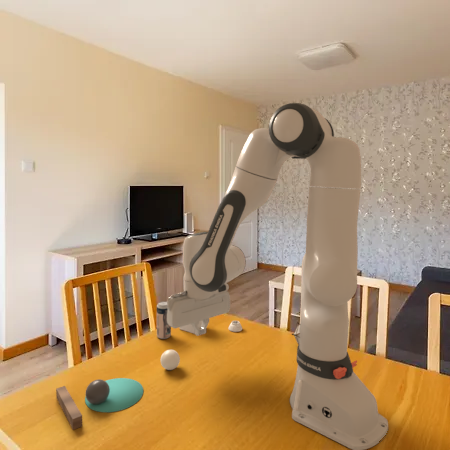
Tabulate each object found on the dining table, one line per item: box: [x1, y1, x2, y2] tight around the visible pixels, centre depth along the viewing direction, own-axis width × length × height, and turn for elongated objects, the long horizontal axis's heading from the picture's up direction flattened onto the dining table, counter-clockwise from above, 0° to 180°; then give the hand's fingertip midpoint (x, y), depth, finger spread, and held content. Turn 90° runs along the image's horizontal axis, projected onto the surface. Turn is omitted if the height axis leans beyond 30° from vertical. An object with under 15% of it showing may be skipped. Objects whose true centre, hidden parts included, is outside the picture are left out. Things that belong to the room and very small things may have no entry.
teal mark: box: [84, 377, 144, 413], centre depth 88 cm, size 14×14×1 cm
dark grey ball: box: [85, 379, 110, 405], centre depth 85 cm, size 6×6×6 cm
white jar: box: [227, 320, 243, 333], centre depth 129 cm, size 5×3×5 cm
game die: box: [291, 321, 300, 346], centre depth 116 cm, size 9×8×10 cm
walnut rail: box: [55, 385, 83, 431], centre depth 81 cm, size 14×2×2 cm, turn 39°
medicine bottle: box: [179, 320, 203, 335], centre depth 128 cm, size 7×7×12 cm
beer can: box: [156, 301, 172, 340], centre depth 121 cm, size 5×5×12 cm
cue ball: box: [160, 349, 181, 371], centre depth 101 cm, size 6×6×6 cm
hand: (200, 333), depth 103 cm, fingers closed
